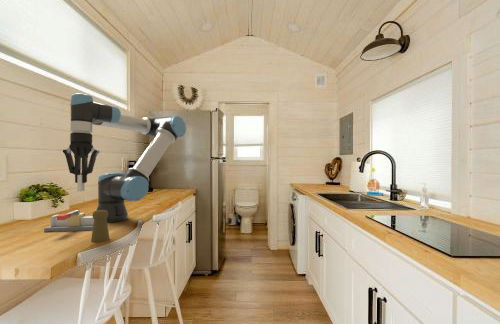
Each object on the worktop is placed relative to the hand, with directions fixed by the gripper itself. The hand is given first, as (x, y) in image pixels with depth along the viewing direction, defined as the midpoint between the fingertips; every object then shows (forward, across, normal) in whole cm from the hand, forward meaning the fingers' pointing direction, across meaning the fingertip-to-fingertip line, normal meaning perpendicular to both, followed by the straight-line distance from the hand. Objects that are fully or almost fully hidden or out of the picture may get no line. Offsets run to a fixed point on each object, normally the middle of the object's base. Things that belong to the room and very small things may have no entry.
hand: (80, 191), depth 107 cm
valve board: (+17, +6, -10) cm, 21 cm away
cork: (+17, -11, +10) cm, 23 cm away
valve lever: (+11, +6, -4) cm, 13 cm away
